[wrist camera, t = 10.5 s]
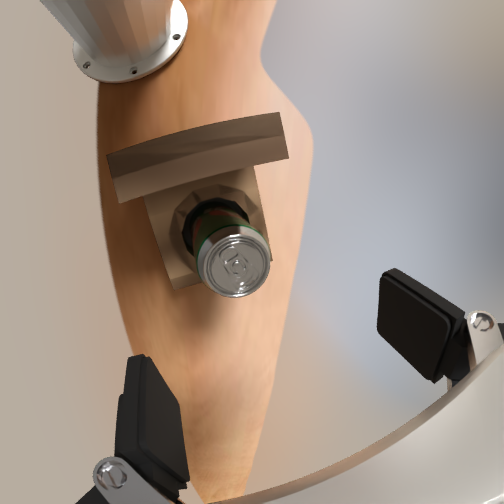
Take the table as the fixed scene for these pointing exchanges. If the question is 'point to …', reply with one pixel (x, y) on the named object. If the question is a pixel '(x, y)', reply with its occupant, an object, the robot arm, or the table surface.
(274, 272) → the table surface
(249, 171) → the socket block
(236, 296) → the soda can
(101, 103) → the table surface
